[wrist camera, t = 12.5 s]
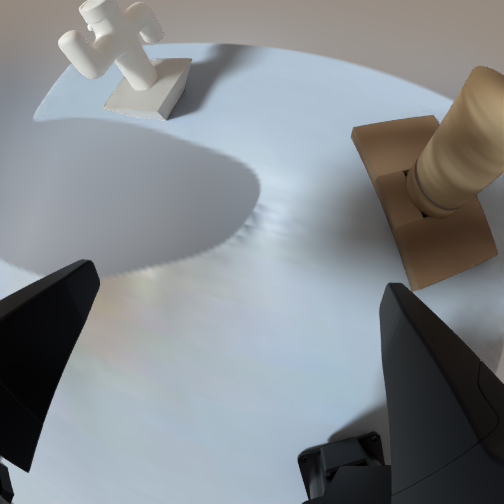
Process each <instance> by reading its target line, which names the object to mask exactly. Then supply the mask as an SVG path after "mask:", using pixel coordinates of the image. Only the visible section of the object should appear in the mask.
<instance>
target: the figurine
mask: <svg viewBox="0 0 504 504" xmlns="http://www.w3.org/2000/svg"><path fill="white" fill-rule="evenodd" d="M79 11H80V13H81V15H82V16H83V18H84V19H85V22H86V23H89V24H88V30H89V31H93V30H94V32H95V35H96V40H95V42H94V43H93V44H92V45H90V44H89V42H88V41H87V40H86V39H85V37H84V36H83V35H82V33H81V32H79V31H77V30H71V31H68V32H67V33H65V34H64V35H62V36H61V38H60V39H59V41H58V45H59V47H60V49H61V50H62V51H63V52H64V54H65V55H66V56H67V57H68V59H69V60H70V61H71V62H72V63H73V65H74V66H75V67H76V68H77V69H78V70H79V72H80V73H81V74H83V75H84V76H85V77H87V78H90V79H97V78H99V77H101V76H102V75H103V74H104V73H105V72H106V71H107V70H108V69H109V67H110V66H111V65H112V64H113V62H114V61H115V63H116V64H117V66H118V67H119V69H120V70H121V72H122V73H123V74H124V78H123V79H122V80H121V82H120V83H119V84H118V86H117V87H116V89H115V90H114V91H113V93H112V94H111V96H110V97H109V99H108V100H107V102H106V103H105V105H104V106H103V108H102V109H106V110H109V111H113V112H117V113H120V114H124V115H127V116H130V117H134V118H144V119H155V120H164V121H166V120H167V118H168V117H169V115H170V113H171V112H172V110H173V108H174V106H175V105H176V103H177V102H178V100H179V98H180V97H181V95H182V93H183V92H184V90H185V86H186V82H187V78H188V73H189V69H190V66H191V62H192V59H189V58H170V59H149V58H148V57H147V55H146V53H145V51H144V49H143V48H142V46H141V44H140V42H139V40H138V36H137V34H138V33H139V32H140V34H141V35H142V37H143V39H144V40H145V41H146V42H148V43H156V42H158V41H160V40H162V39H163V37H164V32H163V30H162V27H161V25H160V23H159V21H158V19H157V17H156V15H155V13H154V11H153V10H152V8H151V7H150V6H149V5H148V4H147V3H145V2H136V3H134V4H132V5H131V6H130V7H129V8H127V9H126V10H125V11H124V12H122V10H121V8H120V6H119V3H118V1H117V0H87V1H85V2H84V3H83V4H82V5H81V6H80V7H79Z"/></svg>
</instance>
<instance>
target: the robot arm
mask: <svg viewBox="0 0 504 504" xmlns="http://www.w3.org/2000/svg"><path fill="white" fill-rule="evenodd" d="M99 287H100V279H99V276H98V274H97V271H96V268H95V266H94V263H93V262H92V261H91V260H85V259H82V260H79V261H77V262H74V263H72V264H70V265H68V266H66V267H64V268H62V269H60V270H58V271H56V272H54V273H52V274H50V275H48V276H46V277H44V278H42V279H40V280H38V281H36V282H34V283H32V284H30V285H28V286H26V287H24V288H22V289H20V290H19V291H17V292H15V293H13V294H11V295H9V296H7V297H5V298H4V299H2V300H0V504H11V501H12V499H13V496H14V493H13V489H12V485H11V481H10V477H9V472H8V468H7V467H6V466H5V465H4V464H3V463H2V462H1V460H2V458H5V459H6V460H8V461H9V462H11V463H12V464H14V465H16V466H17V467H19V468H20V469H22V470H24V471H25V472H27V473H29V471H30V468H31V464H32V461H33V457H34V453H35V450H36V447H37V443H38V440H39V437H40V434H41V431H42V428H43V424H44V421H45V418H46V415H47V412H48V410H49V407H50V404H51V401H52V399H53V396H54V393H55V391H56V388H57V386H58V383H59V381H60V378H61V376H62V373H63V371H64V369H65V366H66V364H67V362H68V359H69V357H70V355H71V353H72V350H73V348H74V346H75V344H76V342H77V340H78V337H79V335H80V333H81V331H82V329H83V327H84V325H85V322H86V320H87V317H88V315H89V312H90V310H91V307H92V304H93V302H94V299H95V297H96V295H97V292H98V290H99ZM379 316H380V331H381V354H382V366H383V373H384V381H385V389H386V398H387V407H388V418H389V430H390V446H391V465H385V463H384V457H383V450H382V444H381V438H380V435H379V434H378V433H377V432H371V433H369V434H366V435H363V436H360V437H357V438H354V437H351V438H348V439H345V440H342V441H338V442H335V443H331V444H328V445H324V446H322V447H321V448H320V449H316V450H312V451H308V452H304V453H301V454H300V455H298V464H299V468H300V471H301V475H302V478H303V482H304V485H305V489H306V492H307V496H308V499H309V500H308V501H305V502H303V503H302V504H504V384H503V383H502V382H501V381H500V380H499V379H498V378H497V377H496V375H495V374H494V373H493V372H492V371H491V370H490V369H489V368H488V367H487V366H486V365H485V364H484V363H483V362H482V361H480V358H479V357H478V356H477V355H476V354H475V353H474V352H473V351H472V350H471V349H470V348H469V347H468V346H467V345H466V344H465V343H464V342H463V341H462V340H461V339H460V338H459V337H458V336H457V335H456V334H455V333H454V332H453V331H452V330H451V329H450V328H449V327H448V326H447V325H446V324H445V323H444V322H443V321H442V320H441V319H440V318H439V317H438V316H437V315H436V314H435V313H434V312H433V311H432V310H430V309H429V308H428V307H427V306H426V305H425V304H424V303H423V302H422V301H421V300H420V299H419V298H418V297H417V296H415V295H414V294H413V293H412V292H411V291H410V290H409V289H408V288H407V287H406V286H404V285H403V284H402V283H391V282H390V283H388V284H387V285H386V288H385V291H384V294H383V298H382V301H381V304H380V309H379ZM374 436H376V438H375V439H374V440H371V438H372V437H374ZM303 457H306V458H307V459H306V460H301V459H302V458H303Z"/></svg>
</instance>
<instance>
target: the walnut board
mask: <svg viewBox="0 0 504 504" xmlns="http://www.w3.org/2000/svg"><path fill="white" fill-rule="evenodd" d="M438 127H439V123H438V121H437V120H436V118H435V117H434V115H429V116H421V117H413V118H406V119H399V120H392V121H386V122H380V123H374V124H368V125H363V126H358V127H353V131H352V134H351V139H352V140H353V142H354V144H355V146H356V149H357V151H358V153H359V155H360V157H361V159H362V161H363V163H364V165H365V167H366V170H367V172H368V174H369V176H370V178H371V181H372V183H373V185H374V188H375V190H376V192H377V195H378V197H379V199H380V202H381V204H382V207H383V209H384V212H385V214H386V217H387V219H388V222H389V225H390V227H391V230H392V233H393V235H394V238H395V241H396V244H397V247H398V249H399V252H400V255H401V258H402V261H403V264H404V268H405V271H406V274H407V277H408V280H409V284H410V287H411V291H416V290H419V289H422V288H424V287H427V286H429V285H432V284H434V283H437V282H439V281H441V280H444V279H446V278H448V277H451V276H453V275H455V274H458V273H460V272H462V271H464V270H467V269H469V268H471V267H473V266H475V265H477V264H479V263H482V262H484V261H486V260H488V259H490V258H492V257H494V256H496V255H498V252H497V249H496V245H495V242H494V239H493V237H492V234H491V231H490V228H489V225H488V223H487V220H486V217H485V215H484V212H483V210H482V207H481V205H480V202H479V200H478V198H477V195H475V196H474V197H473V198H472V199H470V200H469V201H468V202H467V203H465V204H464V205H463V206H462V207H460V208H459V209H457V210H456V211H455V212H453V213H452V214H451V215H449V216H448V217H446V218H442V219H437V218H432V217H426V218H423V216H422V213H421V211H420V210H419V209H418V208H417V207H416V206H415V205H414V203H413V202H412V200H411V198H410V196H409V194H408V191H407V186H406V176H407V174H408V172H409V170H410V169H411V167H412V166H413V164H414V163H415V161H416V160H417V158H418V157H419V155H420V154H421V153H422V151H423V150H424V148H425V147H426V145H427V144H428V142H429V141H430V139H431V138H432V136H433V135H434V133H435V131H436V130H437V128H438Z"/></svg>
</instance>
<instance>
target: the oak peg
mask: <svg viewBox="0 0 504 504" xmlns="http://www.w3.org/2000/svg"><path fill="white" fill-rule="evenodd" d="M503 172H504V75H502V74H501V73H499V72H497V71H495V70H493V69H491V68H488V67H483V66H478V67H475V68H474V69H473V70H472V72H471V74H470V75H469V77H468V79H467V80H466V83H465V84H464V86H463V87H462V89H461V91H460V93H459V94H458V96H457V98H456V99H455V101H454V103H453V104H452V106H451V108H450V109H449V111H448V112H447V114H446V116H445V117H444V119H443V120H442V122H441V124H440V125H439V127H438V128H437V130H436V131H435V133H434V135H433V136H432V138H431V139H430V141H429V142H428V144H427V145H426V147H425V148H424V150H423V151H422V153H421V154H420V155H419V157H418V158H417V160H416V161H415V163H414V164H413V166H412V167H411V169H410V170H409V172H408V174H407V178H406V186H407V191H408V194H409V196H410V198H411V200H412V202H413V203H414V205H415V206H416V207H417V208H418V209H419V210H420V211H421V212H422V213H424V214H425V215H427V216H429V217H432V218H437V219H442V218H446V217H448V216H449V215H451V214H452V213H453V212H455V211H456V210H457V209H459V208H460V207H462V206H463V205H464V204H465V203H467V202H468V201H469V200H470V199H472V198H473V197H474V196H475V195H477V194H478V193H479V192H480V191H482V190H483V189H484V188H485V187H487V186H488V185H489V184H490V183H491V182H493V181H494V180H495V179H496V178H497V177H499V176H500V175H501V174H502V173H503Z"/></svg>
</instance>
